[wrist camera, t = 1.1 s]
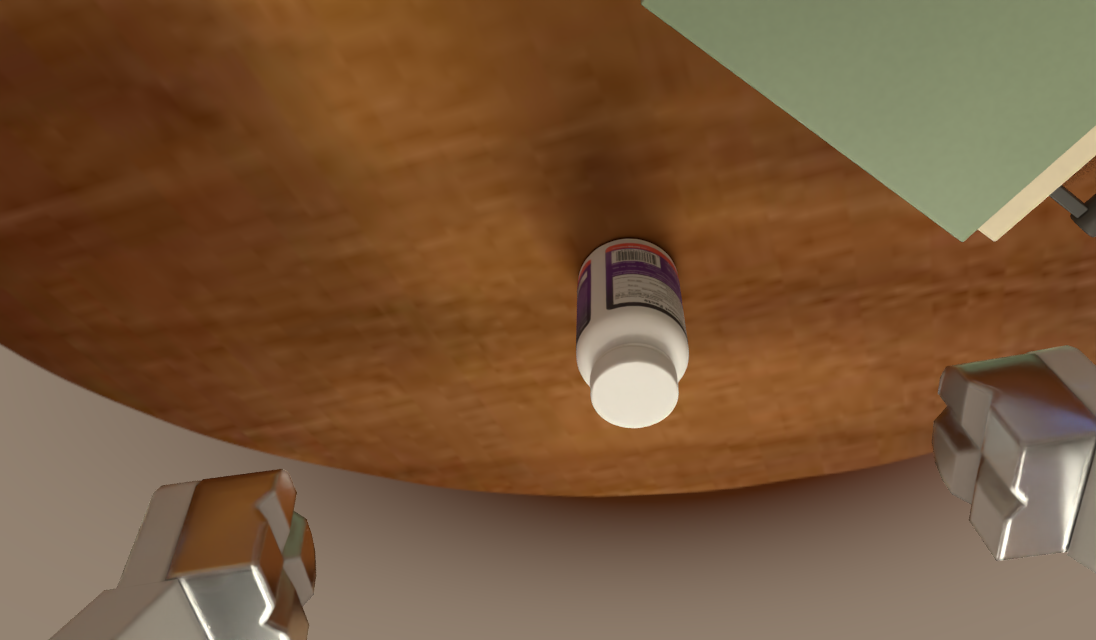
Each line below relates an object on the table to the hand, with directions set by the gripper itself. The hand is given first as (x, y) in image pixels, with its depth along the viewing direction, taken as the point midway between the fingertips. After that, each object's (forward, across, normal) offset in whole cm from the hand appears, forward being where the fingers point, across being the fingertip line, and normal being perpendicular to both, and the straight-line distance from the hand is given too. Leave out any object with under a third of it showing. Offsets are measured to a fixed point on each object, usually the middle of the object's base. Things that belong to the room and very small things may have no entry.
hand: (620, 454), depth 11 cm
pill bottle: (+34, -5, +18) cm, 39 cm away
